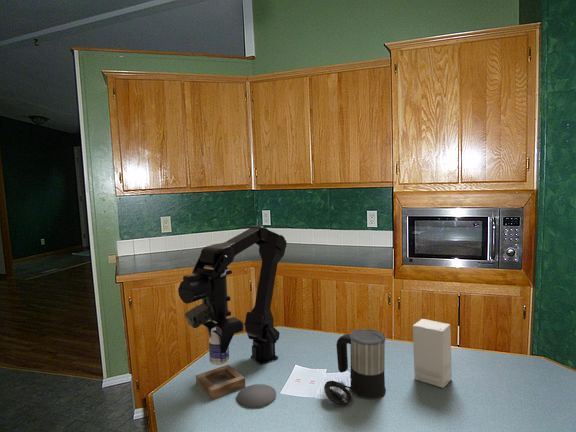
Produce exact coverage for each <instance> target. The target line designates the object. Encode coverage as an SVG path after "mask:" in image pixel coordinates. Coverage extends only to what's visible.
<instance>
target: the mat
mask: <svg viewBox="0 0 576 432" xmlns="http://www.w3.org/2000/svg"><path fill="white" fill-rule="evenodd" d="M236 395H237V396H236V397H237V402H238V404H239V405H241V406H243V407H245V408H250V409H258V408H259V409H260V408H264V407H267V406H269V405H271V404H272V403H274V402H275V400H276V398H277V391H276V389H275V388H274V387H273V386H270V385H267V384H262V383H256V384H254V383H253V384H250V385H247V386H245V387H244V388H241V389H239V391H238V393H237V394H236Z"/></svg>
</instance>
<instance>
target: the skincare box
mask: <svg viewBox="0 0 576 432" xmlns="http://www.w3.org/2000/svg"><path fill="white" fill-rule="evenodd" d="M451 337H452V334H451V324H450V323H446V322H440V321H435V320H432V319H431V320H430V319H425V318H421V319H420V320H418V321H417V322H416V323H414V324H413V325H412V342H413V346H412V347H413V369H414V370H413V371H414V374H413V375H414V379H415V380H417V381H419V382H423V383H426V384H430V385H431V386H432V385H433V386H436V387H439V388H441V389H444V388H445V387H446V386H447V384H449V382H450V381H451V380H452V378H453V375H452V367H453V366H452V340H451V339H452V338H451Z"/></svg>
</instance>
